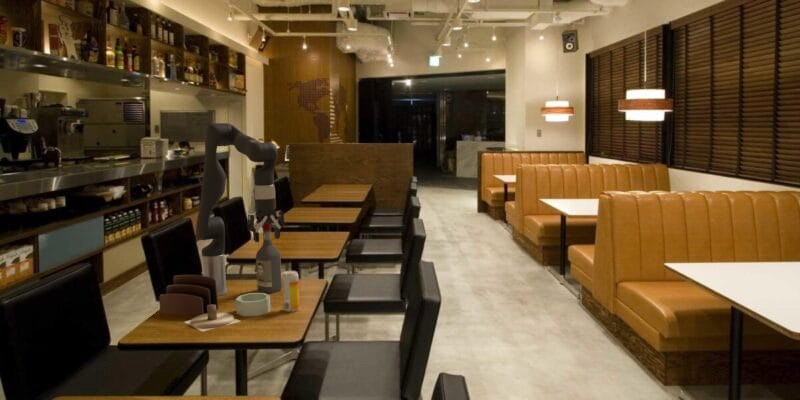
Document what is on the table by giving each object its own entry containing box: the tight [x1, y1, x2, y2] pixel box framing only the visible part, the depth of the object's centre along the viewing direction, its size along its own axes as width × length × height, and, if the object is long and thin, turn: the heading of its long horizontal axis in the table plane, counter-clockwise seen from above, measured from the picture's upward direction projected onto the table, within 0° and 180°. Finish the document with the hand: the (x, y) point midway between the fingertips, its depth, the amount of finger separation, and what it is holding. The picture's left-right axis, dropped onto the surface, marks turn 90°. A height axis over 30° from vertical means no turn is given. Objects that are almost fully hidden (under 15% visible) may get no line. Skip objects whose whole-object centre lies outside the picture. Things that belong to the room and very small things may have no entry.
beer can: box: [281, 270, 301, 313], centre depth 232 cm, size 6×6×15 cm
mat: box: [184, 317, 242, 332], centre depth 218 cm, size 15×15×1 cm
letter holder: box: [159, 274, 219, 317], centre depth 231 cm, size 10×20×14 cm, turn 72°
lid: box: [190, 304, 235, 329], centre depth 218 cm, size 15×15×6 cm
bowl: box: [235, 292, 272, 317], centre depth 230 cm, size 12×12×6 cm
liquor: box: [255, 224, 283, 294], centre depth 259 cm, size 9×9×30 cm
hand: (267, 240), depth 221 cm, fingers open, 8 cm apart
